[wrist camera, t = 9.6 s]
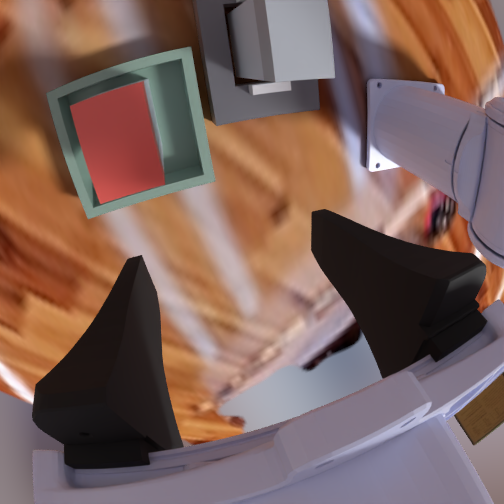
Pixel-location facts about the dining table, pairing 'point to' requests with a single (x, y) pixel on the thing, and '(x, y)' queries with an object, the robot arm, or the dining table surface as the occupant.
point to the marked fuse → (120, 140)
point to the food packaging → (483, 412)
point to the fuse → (282, 40)
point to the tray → (168, 119)
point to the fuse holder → (246, 94)
